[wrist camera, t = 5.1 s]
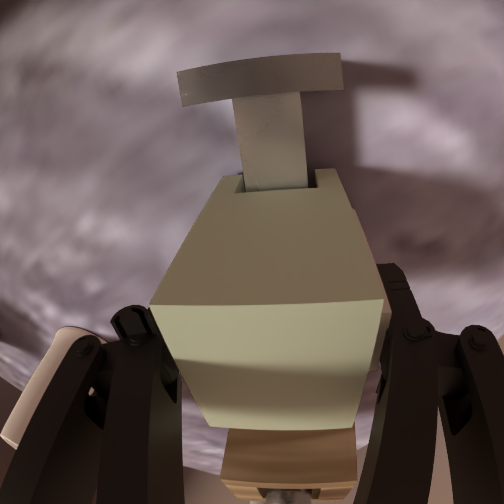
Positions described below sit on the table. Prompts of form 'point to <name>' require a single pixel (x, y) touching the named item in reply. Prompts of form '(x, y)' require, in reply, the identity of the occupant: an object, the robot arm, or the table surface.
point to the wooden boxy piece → (290, 462)
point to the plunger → (289, 496)
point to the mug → (40, 384)
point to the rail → (266, 110)
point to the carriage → (273, 307)
